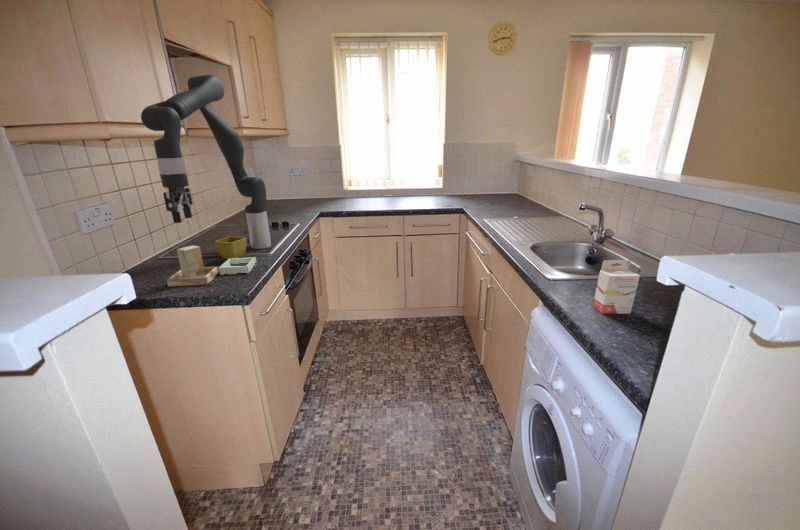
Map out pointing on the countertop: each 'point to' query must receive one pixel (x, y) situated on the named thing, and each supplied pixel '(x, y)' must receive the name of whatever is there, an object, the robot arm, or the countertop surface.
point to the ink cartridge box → (615, 288)
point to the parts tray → (229, 269)
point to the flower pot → (231, 247)
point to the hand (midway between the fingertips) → (183, 220)
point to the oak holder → (180, 281)
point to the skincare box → (191, 262)
